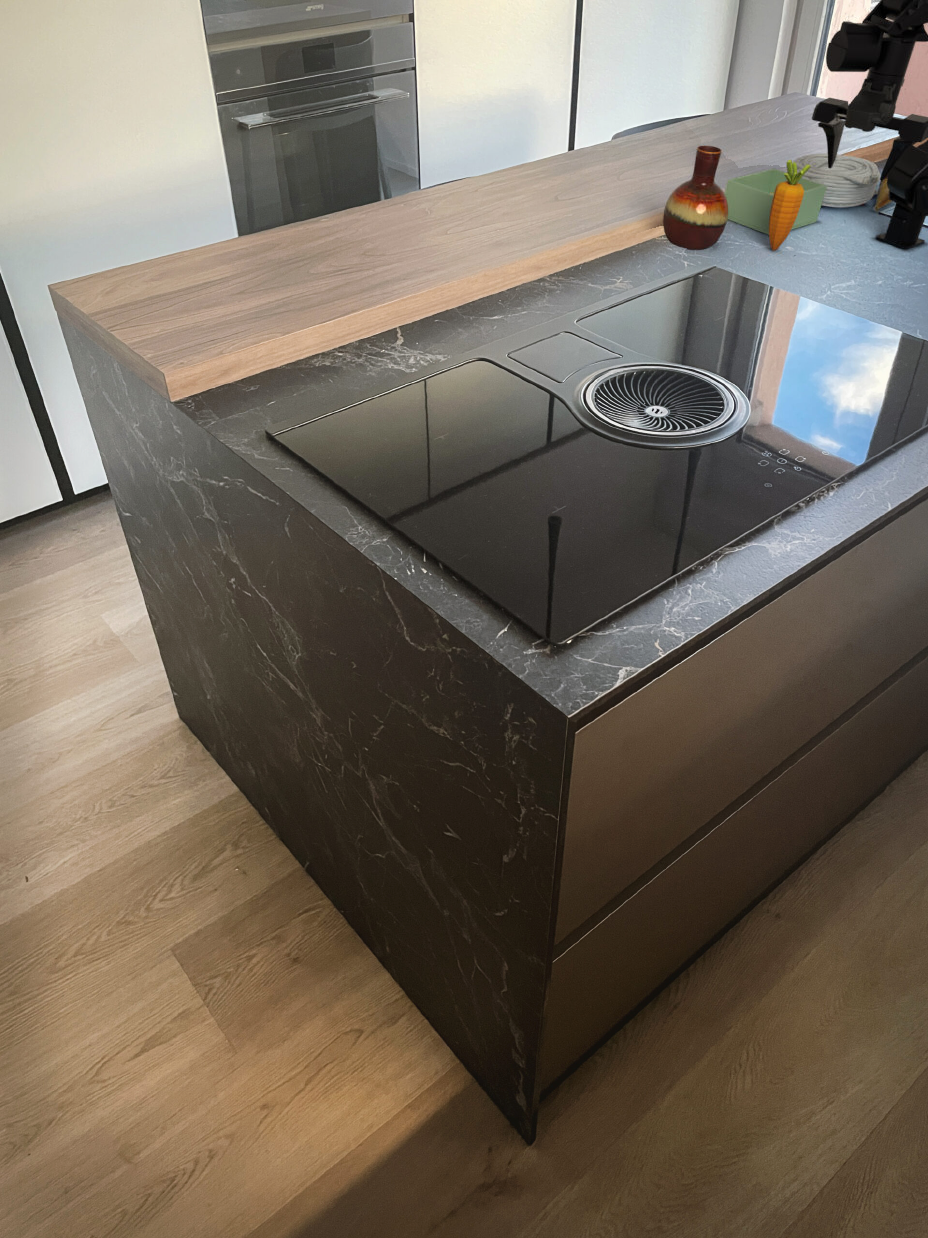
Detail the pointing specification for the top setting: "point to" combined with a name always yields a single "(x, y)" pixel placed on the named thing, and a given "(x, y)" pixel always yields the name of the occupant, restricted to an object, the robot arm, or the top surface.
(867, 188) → the cable
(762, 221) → the storage bin
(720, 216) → the vase
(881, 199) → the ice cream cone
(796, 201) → the carrot
